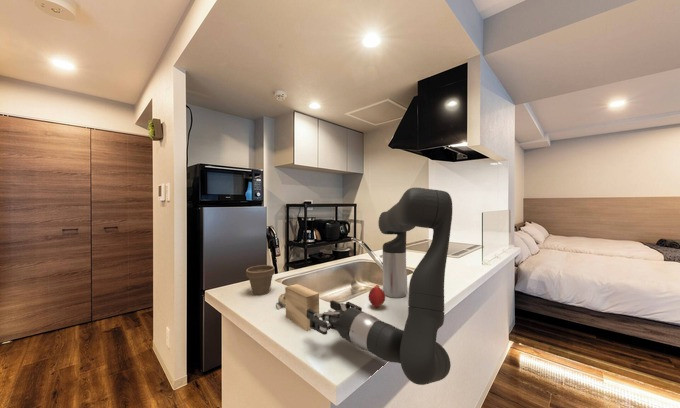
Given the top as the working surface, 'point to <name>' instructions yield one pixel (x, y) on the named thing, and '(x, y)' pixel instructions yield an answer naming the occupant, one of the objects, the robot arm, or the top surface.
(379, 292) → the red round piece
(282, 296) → the vase
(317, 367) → the top surface
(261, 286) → the flower pot
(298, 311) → the brown rectangular block
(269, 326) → the top surface
